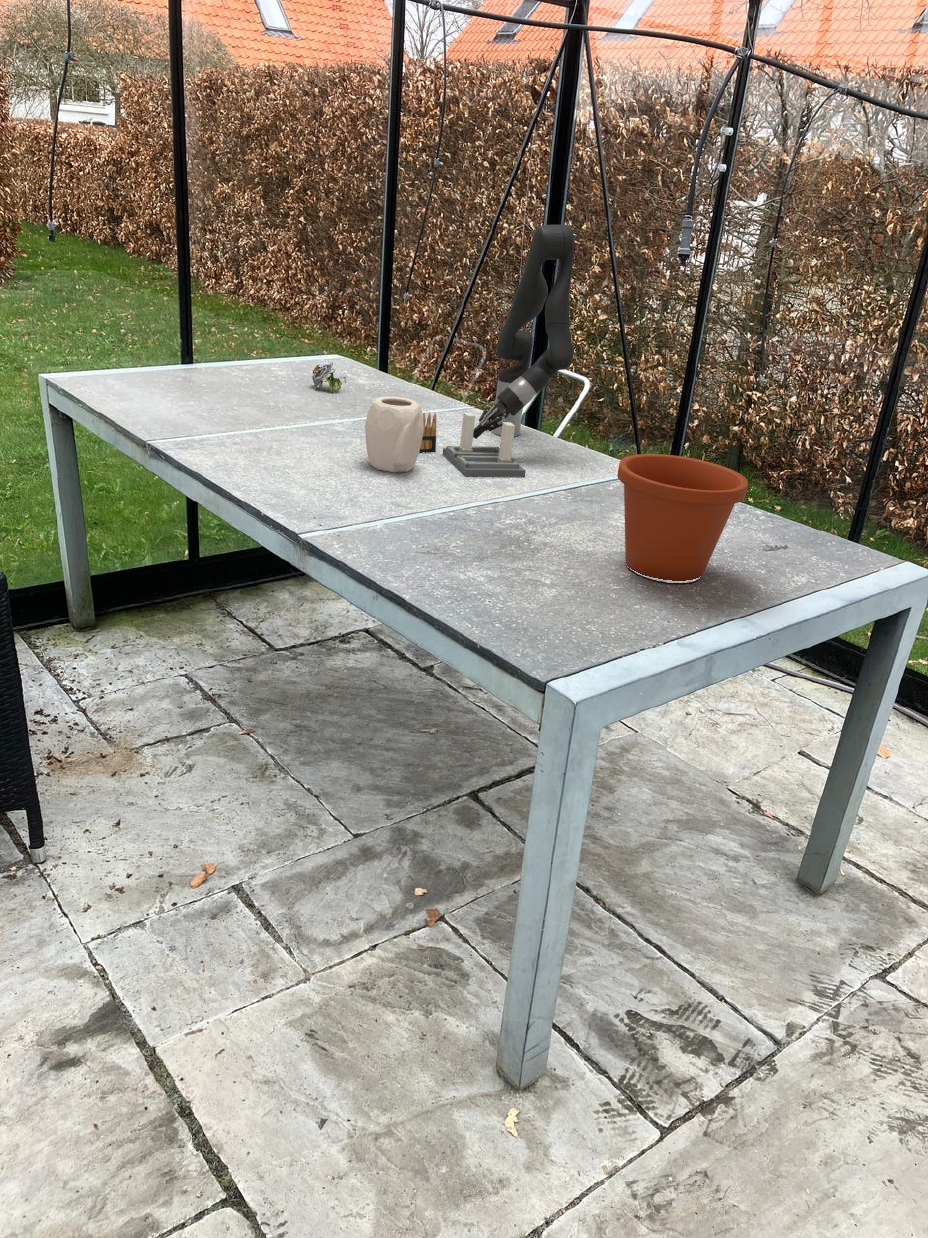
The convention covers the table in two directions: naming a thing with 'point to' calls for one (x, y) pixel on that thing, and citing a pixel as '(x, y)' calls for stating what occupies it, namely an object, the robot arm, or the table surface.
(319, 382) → the passion flower
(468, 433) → the tab
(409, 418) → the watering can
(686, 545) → the flower pot
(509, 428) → the tab
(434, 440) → the ammunition clip
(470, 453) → the switch board
